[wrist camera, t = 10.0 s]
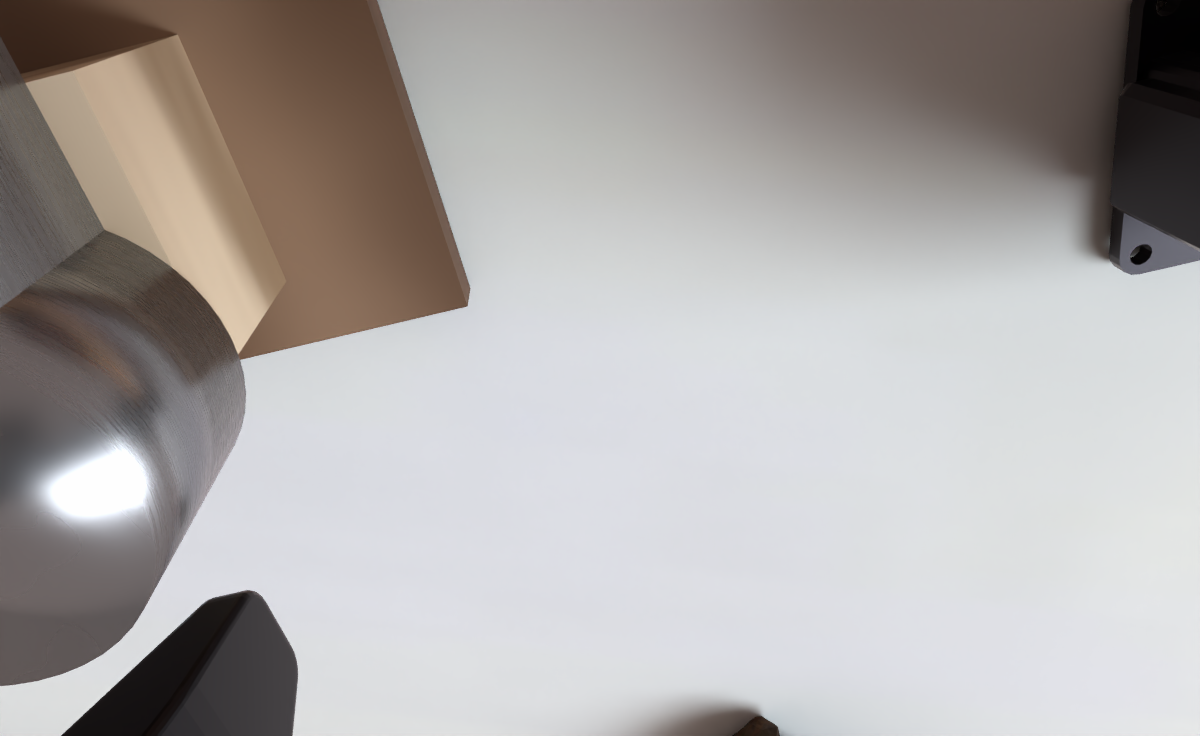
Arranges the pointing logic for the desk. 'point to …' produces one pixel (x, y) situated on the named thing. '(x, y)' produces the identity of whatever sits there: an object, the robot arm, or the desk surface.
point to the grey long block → (92, 408)
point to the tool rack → (249, 155)
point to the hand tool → (759, 728)
